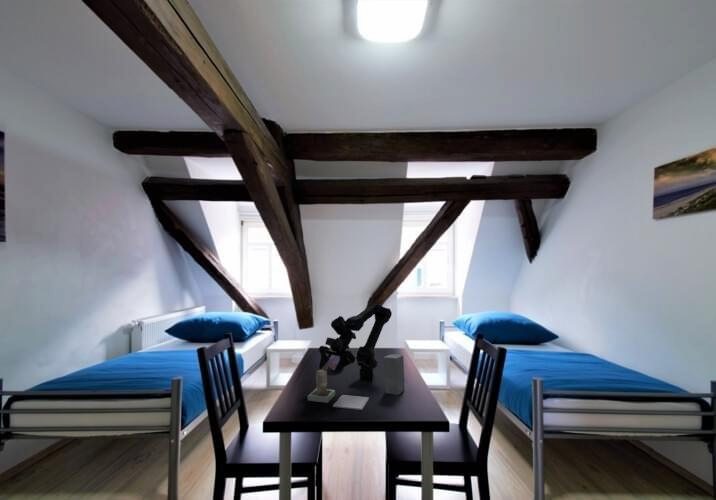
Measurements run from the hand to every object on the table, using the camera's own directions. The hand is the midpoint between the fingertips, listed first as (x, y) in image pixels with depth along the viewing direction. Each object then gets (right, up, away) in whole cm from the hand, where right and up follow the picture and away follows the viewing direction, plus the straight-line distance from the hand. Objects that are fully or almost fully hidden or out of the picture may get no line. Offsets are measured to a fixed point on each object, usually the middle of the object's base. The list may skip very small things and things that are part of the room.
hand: (327, 370), depth 147 cm
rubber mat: (+11, -10, -9) cm, 17 cm away
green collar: (-2, -10, -3) cm, 11 cm away
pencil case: (+3, -14, +43) cm, 46 cm away
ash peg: (-2, -10, -3) cm, 11 cm away
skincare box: (+30, -11, +3) cm, 32 cm away
